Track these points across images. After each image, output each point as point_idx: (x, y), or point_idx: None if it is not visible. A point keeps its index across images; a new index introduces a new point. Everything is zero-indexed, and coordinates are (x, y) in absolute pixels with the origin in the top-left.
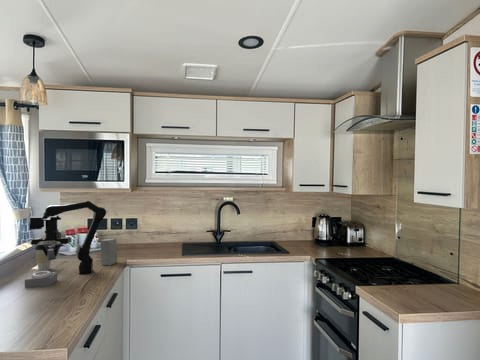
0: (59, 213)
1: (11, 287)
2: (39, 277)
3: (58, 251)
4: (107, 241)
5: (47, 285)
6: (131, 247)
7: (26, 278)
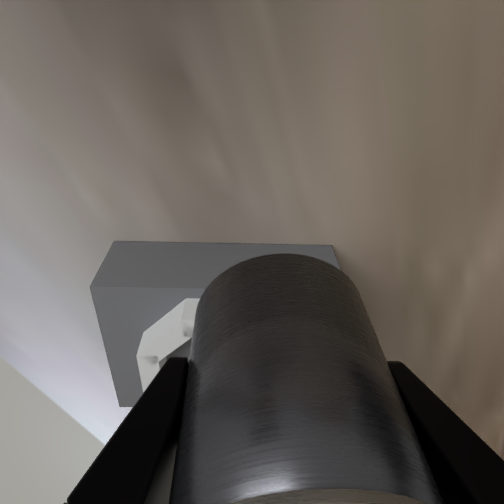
0: None
1: (28, 338)
2: None
3: (487, 453)
4: None
5: None
6: None
7: (117, 388)
